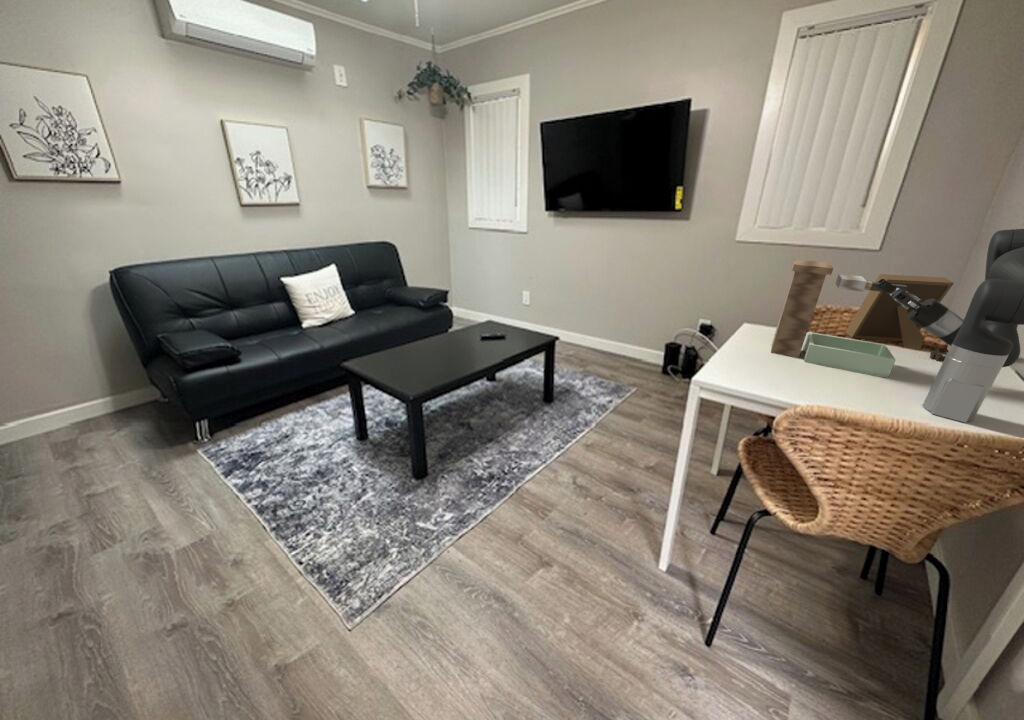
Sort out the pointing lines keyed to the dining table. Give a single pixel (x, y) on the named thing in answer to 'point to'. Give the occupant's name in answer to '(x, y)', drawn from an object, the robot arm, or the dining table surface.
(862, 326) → the photo frame
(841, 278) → the scraper
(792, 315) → the scratching post
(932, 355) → the bear figurine
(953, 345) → the robot arm
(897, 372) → the dining table surface
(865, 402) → the dining table surface
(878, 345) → the tray
